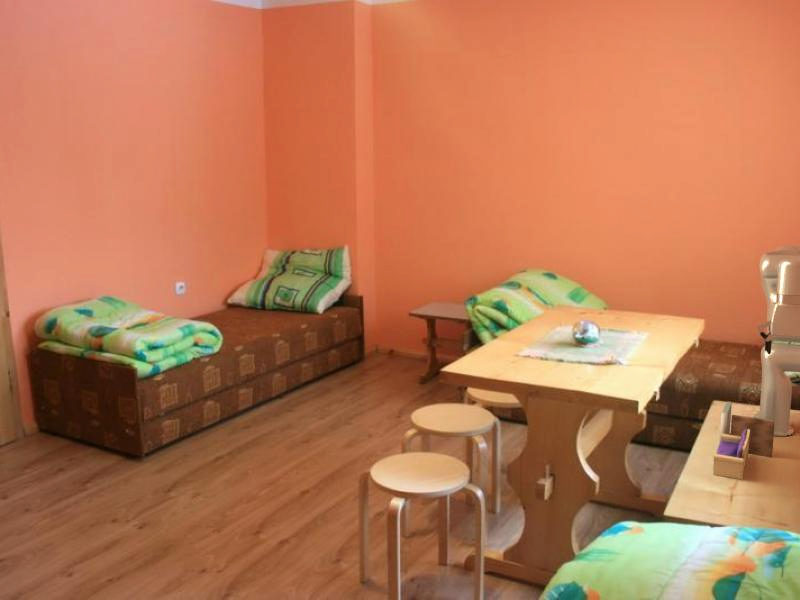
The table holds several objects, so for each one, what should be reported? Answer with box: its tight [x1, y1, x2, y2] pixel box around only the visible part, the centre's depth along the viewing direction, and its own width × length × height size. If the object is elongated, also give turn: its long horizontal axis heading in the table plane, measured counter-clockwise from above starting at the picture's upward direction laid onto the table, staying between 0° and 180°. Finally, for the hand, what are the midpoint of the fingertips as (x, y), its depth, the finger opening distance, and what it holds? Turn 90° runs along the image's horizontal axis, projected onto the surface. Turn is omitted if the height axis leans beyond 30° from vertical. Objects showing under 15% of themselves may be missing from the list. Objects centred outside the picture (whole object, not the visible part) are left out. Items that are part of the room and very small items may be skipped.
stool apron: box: [730, 414, 775, 458], centre depth 233 cm, size 12×2×12 cm, turn 60°
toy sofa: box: [712, 429, 750, 480], centre depth 224 cm, size 21×9×10 cm, turn 150°
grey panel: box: [718, 401, 733, 445], centre depth 246 cm, size 2×15×11 cm, turn 150°
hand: (785, 354), depth 221 cm, fingers open, 9 cm apart
